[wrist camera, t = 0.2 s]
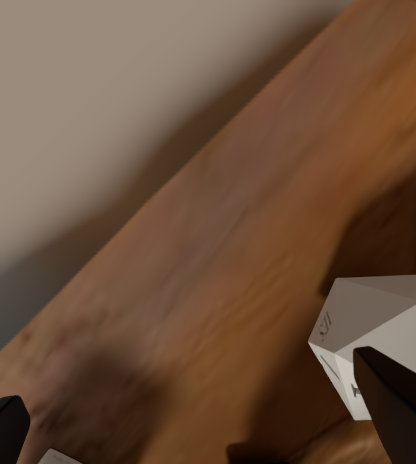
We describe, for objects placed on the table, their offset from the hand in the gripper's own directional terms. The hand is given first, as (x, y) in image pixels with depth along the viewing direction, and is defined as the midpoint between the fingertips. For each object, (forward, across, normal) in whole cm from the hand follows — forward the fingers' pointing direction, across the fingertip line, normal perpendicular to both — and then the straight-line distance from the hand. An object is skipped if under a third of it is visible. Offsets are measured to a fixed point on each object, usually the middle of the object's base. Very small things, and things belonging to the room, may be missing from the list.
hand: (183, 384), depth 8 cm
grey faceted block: (+15, -10, +8) cm, 20 cm away
